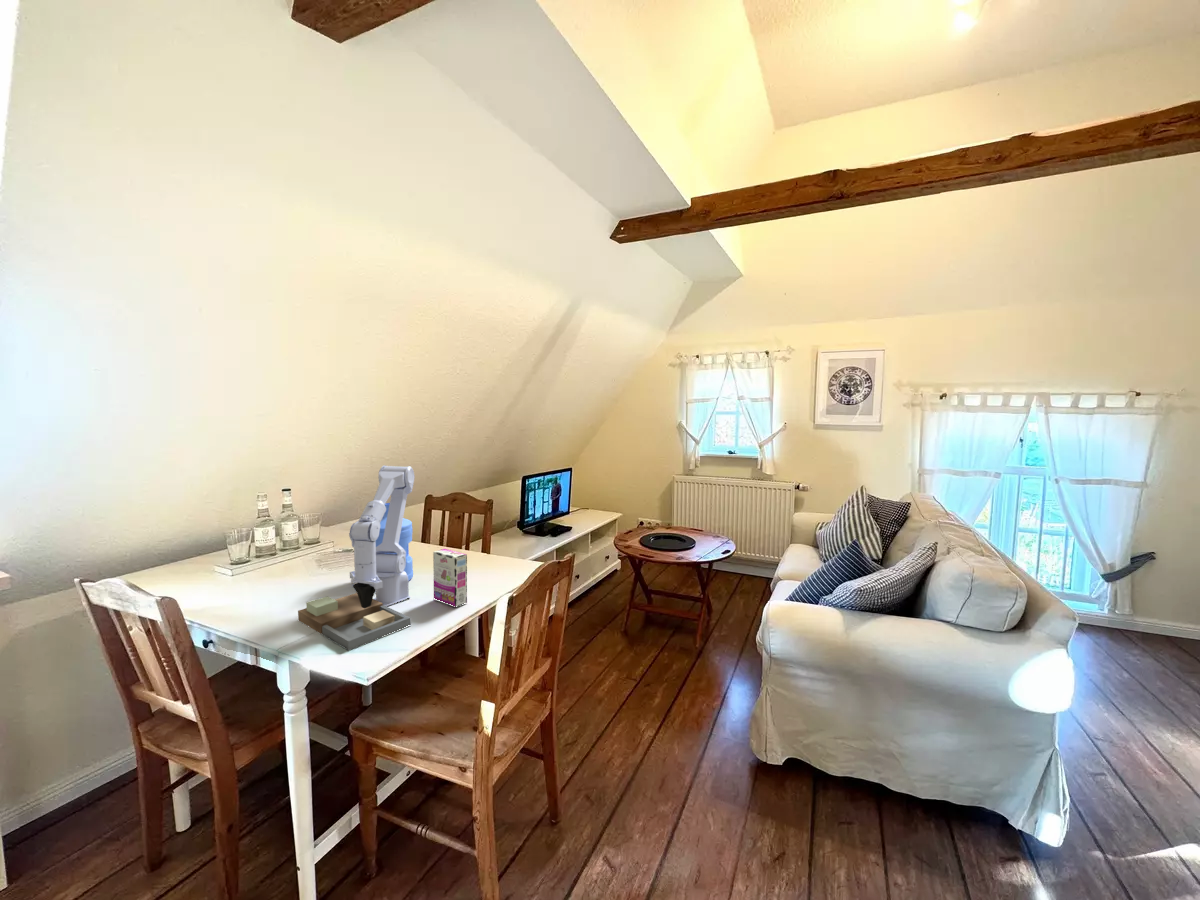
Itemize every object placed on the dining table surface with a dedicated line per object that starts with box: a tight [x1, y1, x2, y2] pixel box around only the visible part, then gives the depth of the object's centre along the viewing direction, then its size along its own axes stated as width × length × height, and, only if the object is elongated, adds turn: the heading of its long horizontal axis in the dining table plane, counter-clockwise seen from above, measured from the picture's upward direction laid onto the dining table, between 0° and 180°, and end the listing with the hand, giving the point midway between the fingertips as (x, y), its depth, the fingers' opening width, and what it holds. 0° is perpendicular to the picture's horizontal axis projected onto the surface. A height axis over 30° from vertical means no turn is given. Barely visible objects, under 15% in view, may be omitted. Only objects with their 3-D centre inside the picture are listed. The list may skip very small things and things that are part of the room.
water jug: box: [376, 502, 414, 582], centre depth 176 cm, size 16×16×28 cm
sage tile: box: [306, 596, 338, 616], centre depth 144 cm, size 6×6×2 cm
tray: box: [321, 605, 412, 651], centre depth 138 cm, size 18×14×2 cm
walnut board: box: [297, 592, 383, 635], centre depth 147 cm, size 18×14×3 cm
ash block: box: [363, 610, 395, 630], centre depth 141 cm, size 6×6×2 cm
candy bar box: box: [432, 548, 468, 608], centre depth 159 cm, size 11×5×16 cm, turn 56°
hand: (366, 606), depth 145 cm, fingers closed
